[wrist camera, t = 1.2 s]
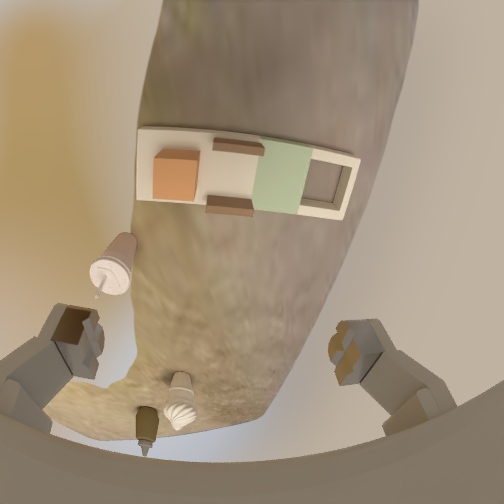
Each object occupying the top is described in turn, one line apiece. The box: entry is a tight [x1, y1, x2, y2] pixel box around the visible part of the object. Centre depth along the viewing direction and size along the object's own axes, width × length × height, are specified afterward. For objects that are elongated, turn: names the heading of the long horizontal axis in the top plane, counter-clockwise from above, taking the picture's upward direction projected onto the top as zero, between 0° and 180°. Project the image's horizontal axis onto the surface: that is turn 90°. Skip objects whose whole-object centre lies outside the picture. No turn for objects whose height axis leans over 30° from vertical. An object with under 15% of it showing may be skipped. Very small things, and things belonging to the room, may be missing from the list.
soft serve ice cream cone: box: [163, 372, 198, 430], centre depth 59 cm, size 8×8×16 cm
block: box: [153, 149, 201, 202], centre depth 32 cm, size 5×5×5 cm
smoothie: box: [90, 232, 137, 298], centre depth 37 cm, size 6×6×14 cm
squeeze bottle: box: [136, 407, 159, 456], centre depth 70 cm, size 8×8×18 cm
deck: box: [136, 126, 361, 220], centre depth 35 cm, size 10×30×6 cm, turn 81°
